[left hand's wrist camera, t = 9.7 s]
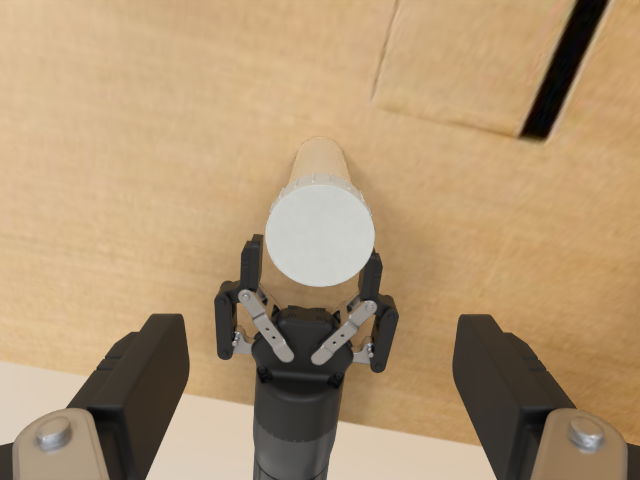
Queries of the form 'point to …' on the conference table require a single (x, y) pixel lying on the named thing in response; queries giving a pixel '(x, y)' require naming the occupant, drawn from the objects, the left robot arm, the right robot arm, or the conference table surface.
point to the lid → (320, 230)
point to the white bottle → (320, 159)
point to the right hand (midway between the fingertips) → (313, 243)
